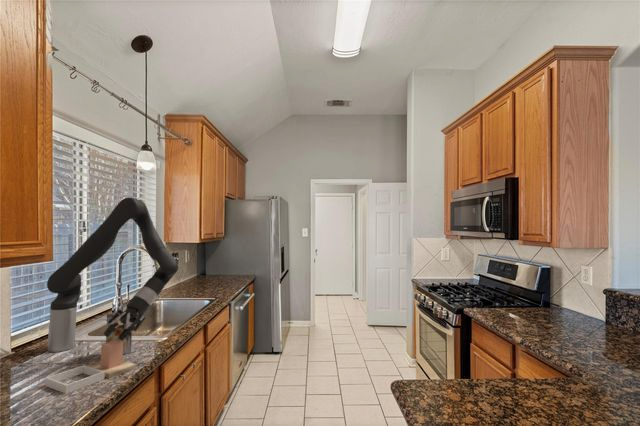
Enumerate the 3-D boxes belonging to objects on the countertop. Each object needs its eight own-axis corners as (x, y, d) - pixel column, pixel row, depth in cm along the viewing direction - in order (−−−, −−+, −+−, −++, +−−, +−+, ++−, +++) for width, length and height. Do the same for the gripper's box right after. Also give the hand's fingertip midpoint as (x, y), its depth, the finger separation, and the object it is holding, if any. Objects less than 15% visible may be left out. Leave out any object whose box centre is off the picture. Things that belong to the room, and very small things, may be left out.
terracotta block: (100, 366, 124) (101, 343, 125) (113, 361, 129) (114, 340, 129) (108, 368, 122) (109, 346, 122) (122, 364, 126) (123, 342, 127)
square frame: (44, 385, 112) (45, 377, 112) (83, 372, 122) (84, 365, 122) (65, 393, 106) (66, 385, 106) (104, 379, 117) (104, 371, 117)
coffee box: (130, 348, 147) (131, 311, 148) (131, 353, 142) (133, 314, 143) (104, 352, 142) (106, 313, 143) (105, 357, 137) (107, 317, 138)
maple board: (84, 370, 124) (85, 366, 124) (112, 361, 133) (112, 357, 133) (109, 378, 118) (109, 374, 118) (135, 368, 126) (136, 364, 127)
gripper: (125, 293, 138) (93, 329, 127) (148, 297, 132) (118, 335, 121) (136, 304, 142) (107, 339, 131) (159, 308, 136) (131, 346, 125)
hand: (112, 337), depth 126 cm, fingers open, 8 cm apart
